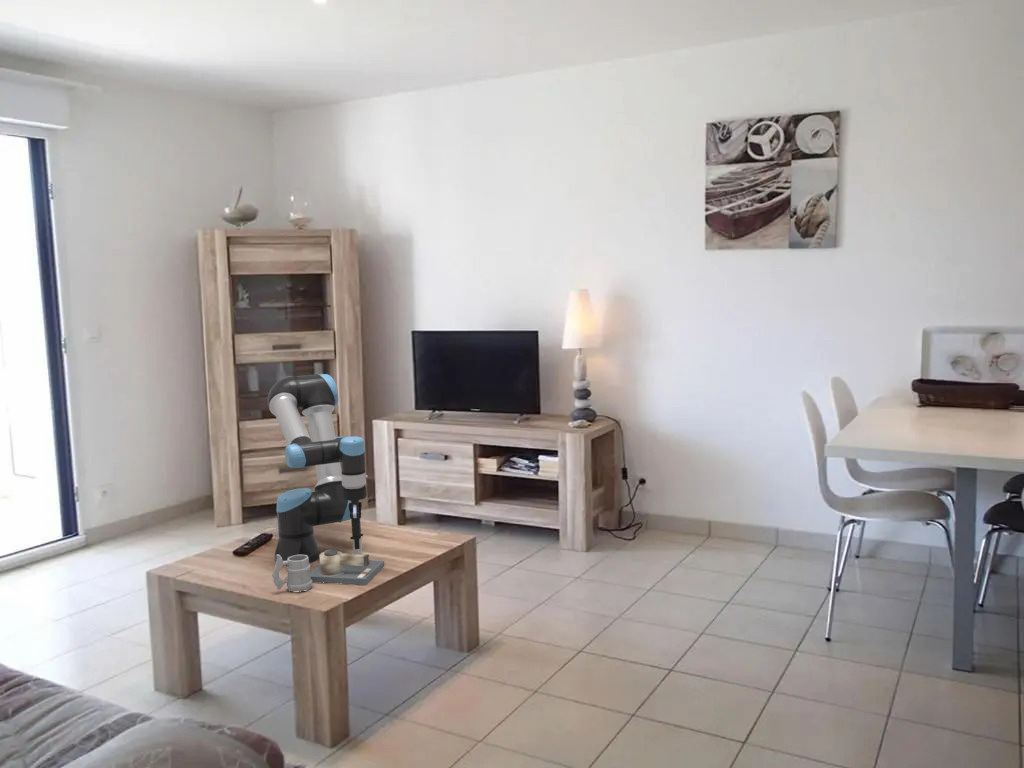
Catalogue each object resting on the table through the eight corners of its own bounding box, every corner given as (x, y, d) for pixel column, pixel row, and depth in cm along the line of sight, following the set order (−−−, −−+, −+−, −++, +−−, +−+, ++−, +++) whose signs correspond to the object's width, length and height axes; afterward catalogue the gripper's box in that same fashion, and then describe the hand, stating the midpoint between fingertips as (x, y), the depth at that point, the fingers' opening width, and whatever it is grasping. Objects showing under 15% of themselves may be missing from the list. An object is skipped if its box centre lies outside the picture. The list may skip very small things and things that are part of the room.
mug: (315, 589, 260) (313, 552, 259) (276, 597, 255) (274, 559, 253) (308, 582, 267) (306, 545, 265) (270, 590, 261) (268, 552, 260)
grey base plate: (305, 582, 267) (305, 574, 266) (327, 564, 283) (327, 557, 283) (365, 585, 263) (365, 577, 262) (384, 566, 279) (384, 559, 279)
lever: (316, 574, 267) (315, 554, 266) (326, 567, 274) (325, 547, 273) (364, 577, 263) (363, 556, 262) (372, 569, 270) (371, 549, 269)
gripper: (365, 490, 262) (369, 563, 266) (366, 480, 275) (370, 549, 278) (341, 492, 261) (344, 565, 265) (343, 481, 274) (346, 551, 277)
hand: (357, 557), depth 272 cm, fingers closed
